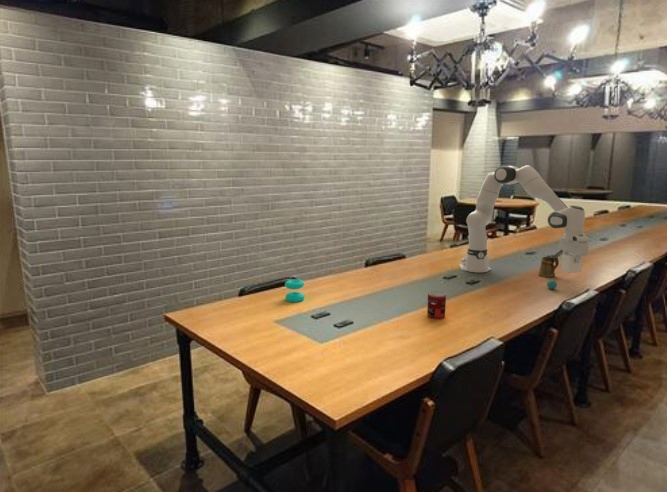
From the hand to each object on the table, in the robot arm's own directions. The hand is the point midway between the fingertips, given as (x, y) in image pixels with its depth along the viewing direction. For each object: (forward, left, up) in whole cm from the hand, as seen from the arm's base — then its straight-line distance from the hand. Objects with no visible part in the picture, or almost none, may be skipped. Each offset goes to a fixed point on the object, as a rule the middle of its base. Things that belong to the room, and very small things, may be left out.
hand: (571, 261), depth 240 cm
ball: (0, -10, -13) cm, 17 cm away
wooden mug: (-26, +4, -16) cm, 31 cm away
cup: (0, 0, -6) cm, 6 cm away
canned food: (+36, -86, -16) cm, 95 cm away
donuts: (+4, -151, -16) cm, 152 cm away
